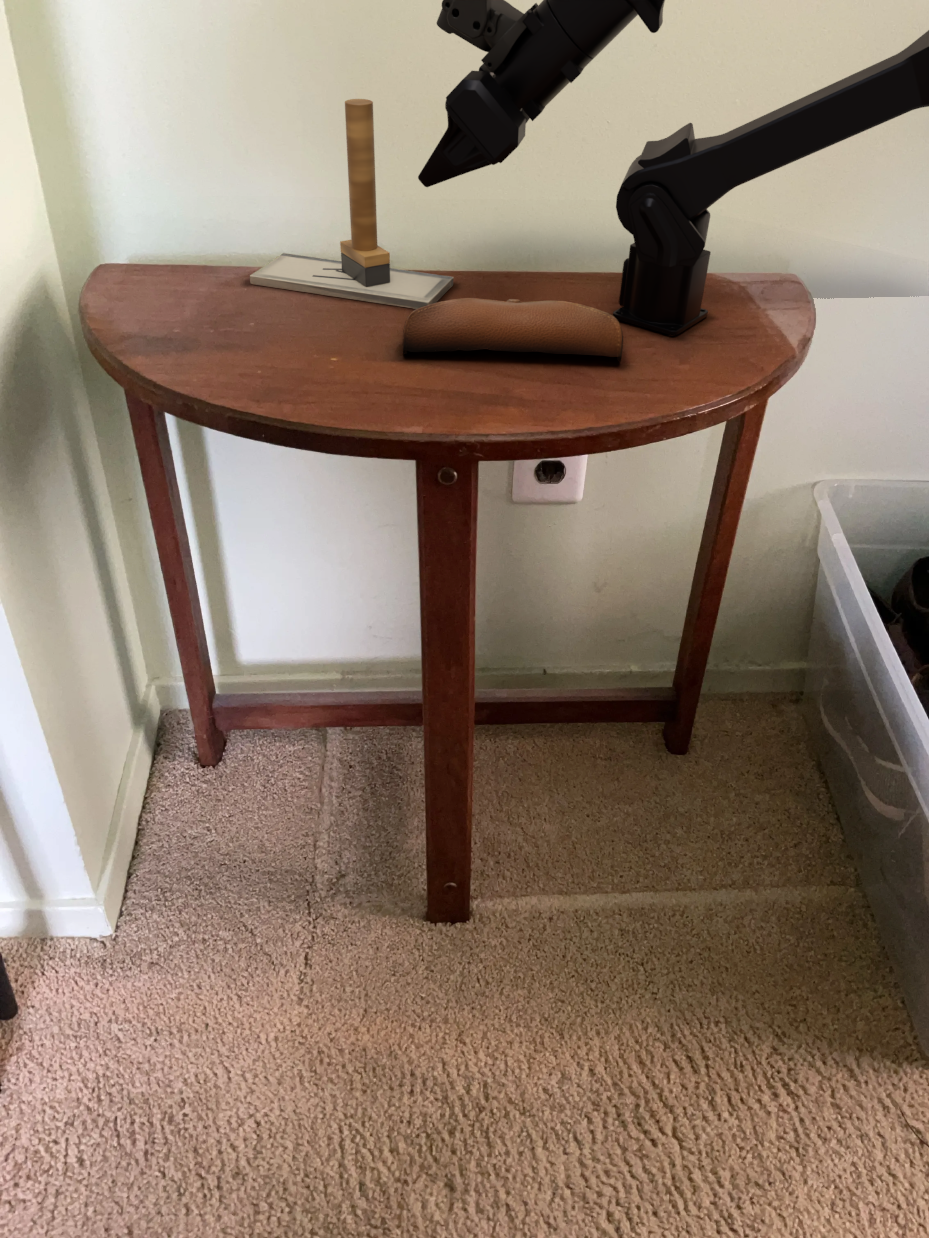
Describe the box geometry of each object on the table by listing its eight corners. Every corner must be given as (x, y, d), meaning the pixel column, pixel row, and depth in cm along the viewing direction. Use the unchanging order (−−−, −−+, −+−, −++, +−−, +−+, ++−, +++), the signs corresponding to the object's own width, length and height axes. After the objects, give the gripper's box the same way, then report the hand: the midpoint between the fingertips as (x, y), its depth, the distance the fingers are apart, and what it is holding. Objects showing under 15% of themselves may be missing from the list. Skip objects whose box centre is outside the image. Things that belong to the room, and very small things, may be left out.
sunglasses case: (613, 322, 87) (625, 271, 81) (614, 390, 84) (626, 343, 78) (409, 316, 87) (404, 264, 81) (404, 384, 85) (399, 335, 78)
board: (453, 285, 95) (453, 276, 94) (428, 311, 90) (428, 302, 89) (283, 260, 99) (283, 252, 99) (250, 284, 94) (249, 275, 93)
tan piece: (390, 282, 93) (386, 106, 83) (365, 287, 92) (358, 109, 82) (365, 266, 96) (358, 94, 87) (341, 271, 95) (331, 97, 85)
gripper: (522, -74, 82) (397, 69, 90) (476, -50, 68) (334, 116, 76) (608, 40, 85) (480, 167, 94) (581, 85, 71) (434, 229, 80)
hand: (435, 167), depth 86 cm, fingers open, 9 cm apart
